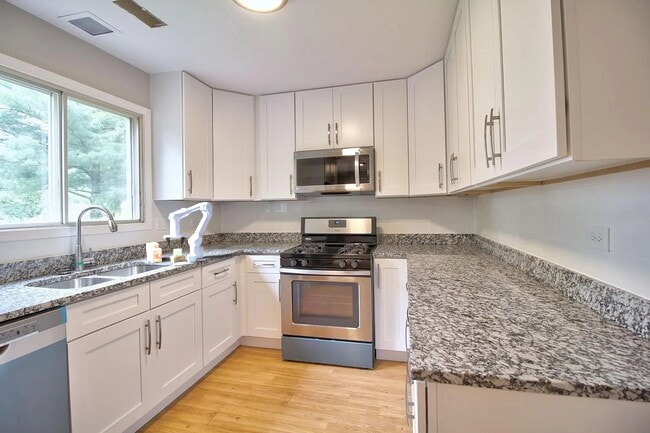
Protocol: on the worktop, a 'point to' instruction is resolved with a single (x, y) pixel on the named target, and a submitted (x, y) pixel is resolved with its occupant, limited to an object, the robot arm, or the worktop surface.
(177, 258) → the walnut base block
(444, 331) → the worktop surface
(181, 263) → the plaque
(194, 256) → the dusty blue block
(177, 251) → the sage block
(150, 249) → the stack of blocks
